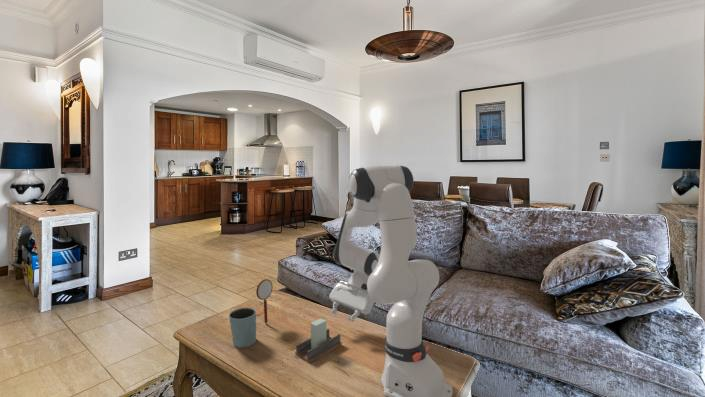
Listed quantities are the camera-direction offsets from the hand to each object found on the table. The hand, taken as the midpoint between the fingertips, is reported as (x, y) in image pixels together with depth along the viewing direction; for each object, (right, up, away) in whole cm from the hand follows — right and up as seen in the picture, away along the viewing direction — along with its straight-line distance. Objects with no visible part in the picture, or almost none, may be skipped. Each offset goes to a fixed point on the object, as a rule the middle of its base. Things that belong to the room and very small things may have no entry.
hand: (341, 316), depth 139 cm
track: (-8, -10, -8) cm, 15 cm away
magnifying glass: (-33, -8, +12) cm, 36 cm away
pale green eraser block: (-8, -9, -8) cm, 14 cm away
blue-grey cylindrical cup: (-38, -10, -2) cm, 39 cm away
